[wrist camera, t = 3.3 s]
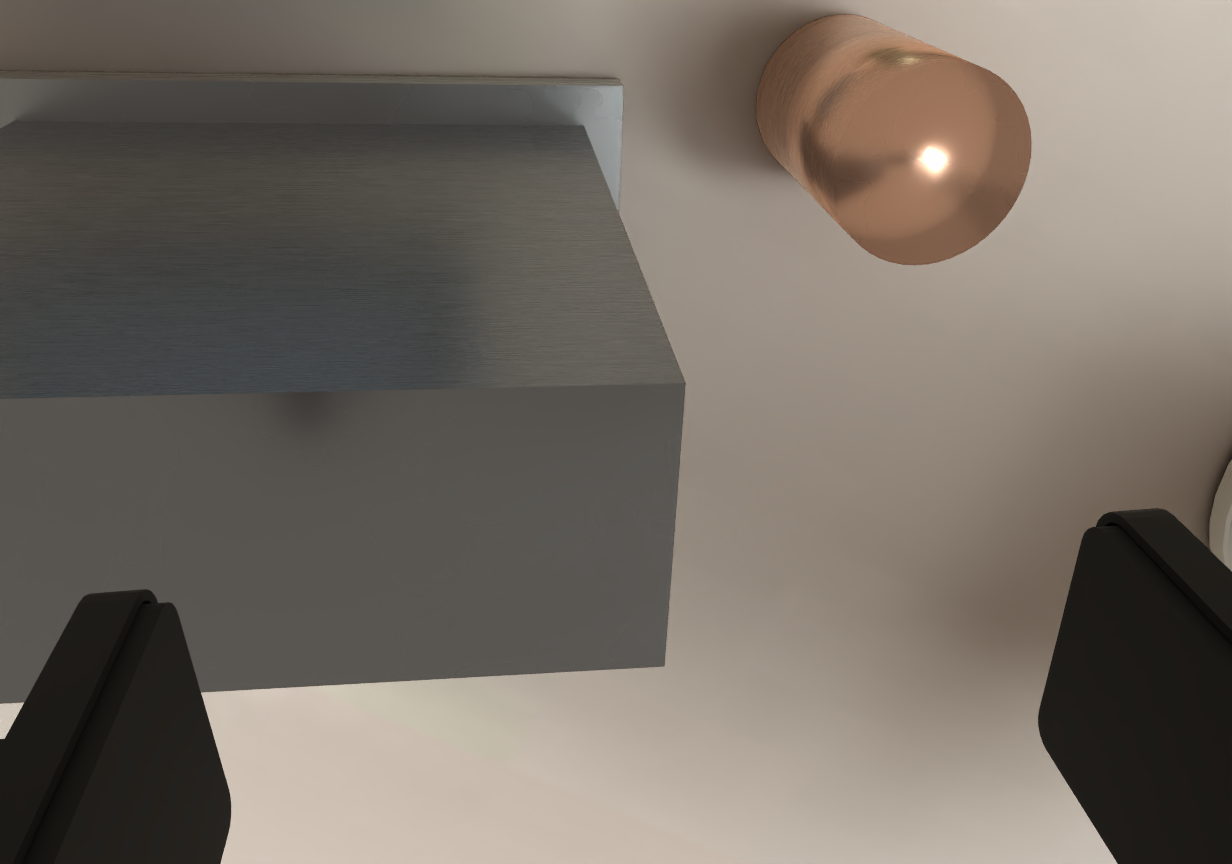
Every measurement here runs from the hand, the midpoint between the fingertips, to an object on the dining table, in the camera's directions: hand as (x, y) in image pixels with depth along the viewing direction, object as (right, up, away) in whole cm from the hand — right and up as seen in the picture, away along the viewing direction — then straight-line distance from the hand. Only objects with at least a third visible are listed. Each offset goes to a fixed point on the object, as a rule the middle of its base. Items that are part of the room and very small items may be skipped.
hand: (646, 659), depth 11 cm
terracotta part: (+6, +11, +18) cm, 22 cm away
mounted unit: (-8, +8, +17) cm, 21 cm away
